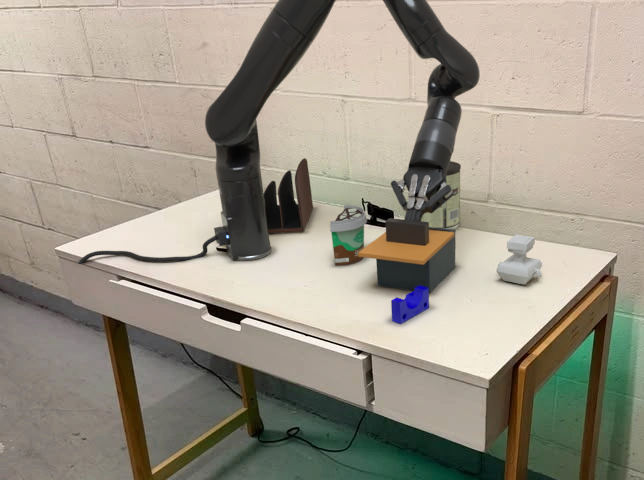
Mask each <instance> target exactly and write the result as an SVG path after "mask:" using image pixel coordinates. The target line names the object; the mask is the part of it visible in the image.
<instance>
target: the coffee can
mask: <svg viewBox="0 0 644 480" xmlns="http://www.w3.org/2000/svg"><path fill="white" fill-rule="evenodd" d="M461 167H462V165H461V164H460V163H459V162H456V161H453V160H450V163H449V166H448V170H447V174H446V176H445V179H446V184H447V185H450V187H451V188H452V191H453V193H454V195H453V196H452V197H451V198H450V199H449V200H447V201H446V202H445V203H444V204H443V205H441V206H440V207H439V208H438V209H437V210H435V211H434V212H433V213H429V212H428V213H425V214H424V215H423V216H422V219H421V221H423V222H429V227H432V228H442V229H451V230H456V229H458V228H459V227H460V226H461ZM438 192H439V191H438ZM438 192H437V193H438Z"/></svg>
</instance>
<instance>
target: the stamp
mask: <svg viewBox="0 0 644 480" xmlns="http://www.w3.org/2000/svg"><path fill="white" fill-rule="evenodd" d="M535 237H536V236H535ZM535 237H534V236H528V235H521V234H514V235H513V236H512V237H511V238H510V239H508V240H507V241H506V242H507V243H506V249H507V251H508V253H512V255H510V256H509V257H508V258H506V259H505V260H504V261H501V262H499V263H498V264H497V267H496V273H497V274H498V275H499V276H500V277H501V279H502V281H504V282H510V283H514V284H519V285H524V286H525V285H526V284H527V283H529V282H530V281H531V280H532V279H533V278H539V277H541V276H542V271H541V268H542V267H543V262H542V261H541V259H539V258H533V257H527V254H528V253H529V252H530V251H531V250H532V249H533V248H534V246H535V244H536V239H535Z"/></svg>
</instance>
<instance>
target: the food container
mask: <svg viewBox="0 0 644 480" xmlns="http://www.w3.org/2000/svg"><path fill="white" fill-rule="evenodd" d="M367 223H368V218H367V215H366V212H365V210H364V209H363V208H362V207H360V206H357V205H354V204H353V205H352V204H343V210H342V212H340V213H339V214H338V215H337V216H336V218H335V220H330V221H329V231H330V232H331V242H332V250H333V257H334V259H333V260H334V265H335V267H343V266H351V265H355V264H357V263H360V262H362V261H363V259H364V258H365V257H359V256H358V252H359V251H361V250H362V249H364V248H365V225H366V224H367Z"/></svg>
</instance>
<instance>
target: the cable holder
mask: <svg viewBox="0 0 644 480" xmlns="http://www.w3.org/2000/svg"><path fill="white" fill-rule="evenodd" d="M429 294H430V293H429V288H428V287H424V286H421V285H419V286H417V287H415V290H414V291H411V292H409V293H407V294H406V295H405V297H404V298H400V297H397V296H396V297H394V298H392V299H391V300H390V304H391V322H393V323H397V324H400V325H402V324H404V323H405V322H408V321H409V320H411V319H412V318H414V317H417V315H420V314H421V313H423V312H425V311H427V310H429V308H430V297H429Z"/></svg>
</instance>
